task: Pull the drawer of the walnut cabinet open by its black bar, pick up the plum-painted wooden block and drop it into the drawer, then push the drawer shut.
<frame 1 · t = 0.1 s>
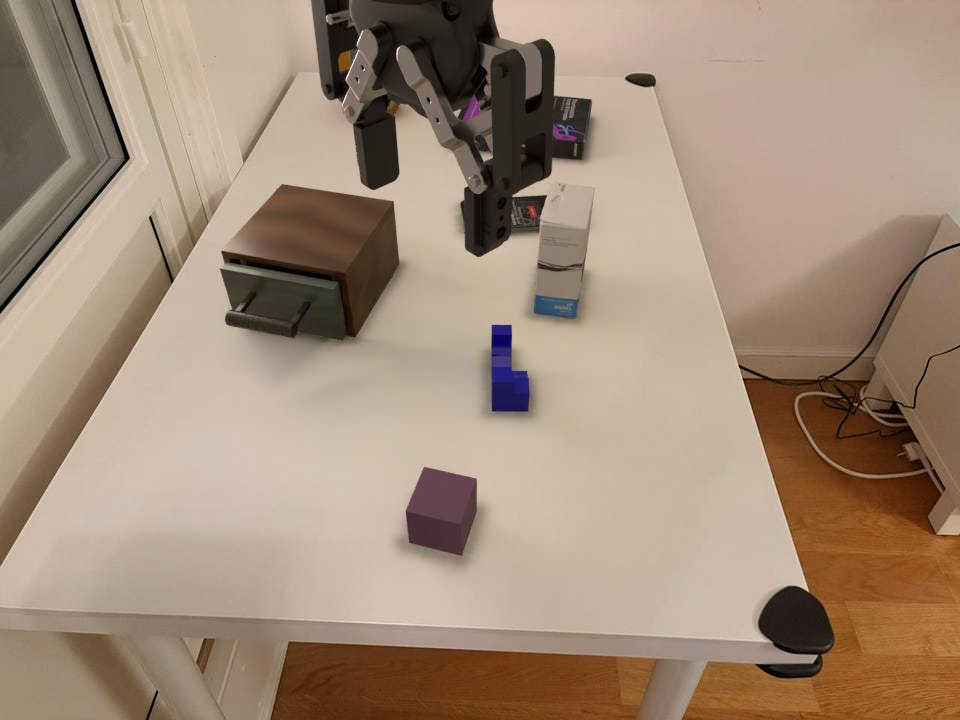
hand: (430, 214, 38), 30 cm above the table, tool pointing down, fingers open, 8 cm apart
ink box: (558, 295, 82), on the table
smartphone: (520, 217, 93), on the table
box: (523, 134, 110), on the table
apple: (376, 113, 115), on the table
cabinet: (323, 288, 83), on the table
cable holder: (508, 382, 72), on the table
block: (443, 526, 60), on the table
drawer: (298, 283, 76), point 4 cm above the table, slide at 0.5 cm
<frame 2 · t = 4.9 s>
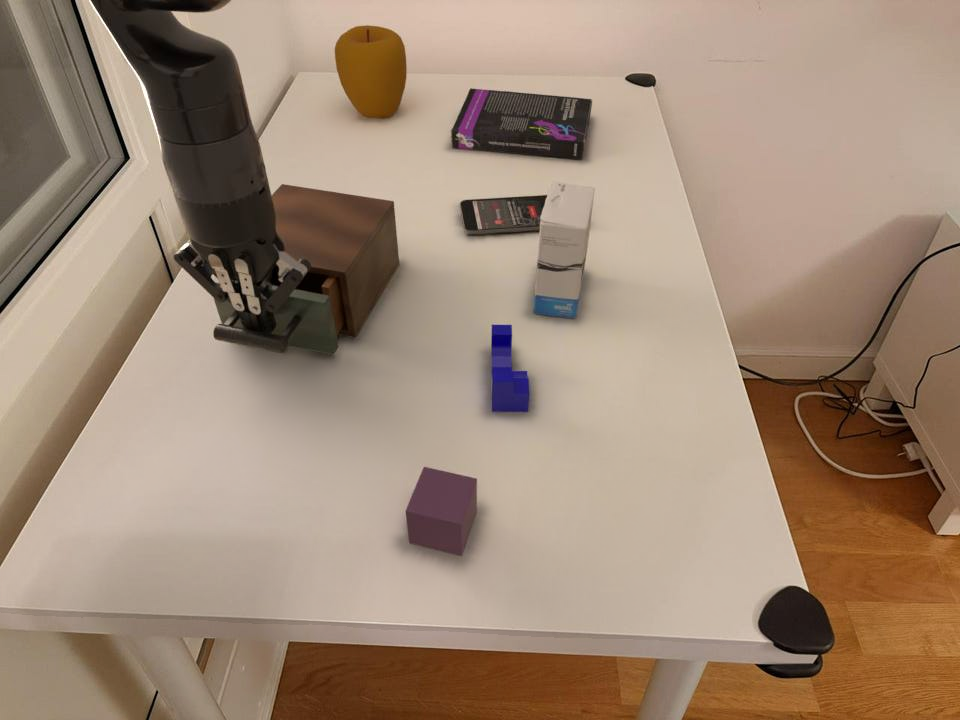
hand: (262, 334, 71), 4 cm above the table, tool pointing down, fingers closed
drawer: (289, 295, 75), point 4 cm above the table, slide at 2.7 cm, touching gripper
everything else where it was.
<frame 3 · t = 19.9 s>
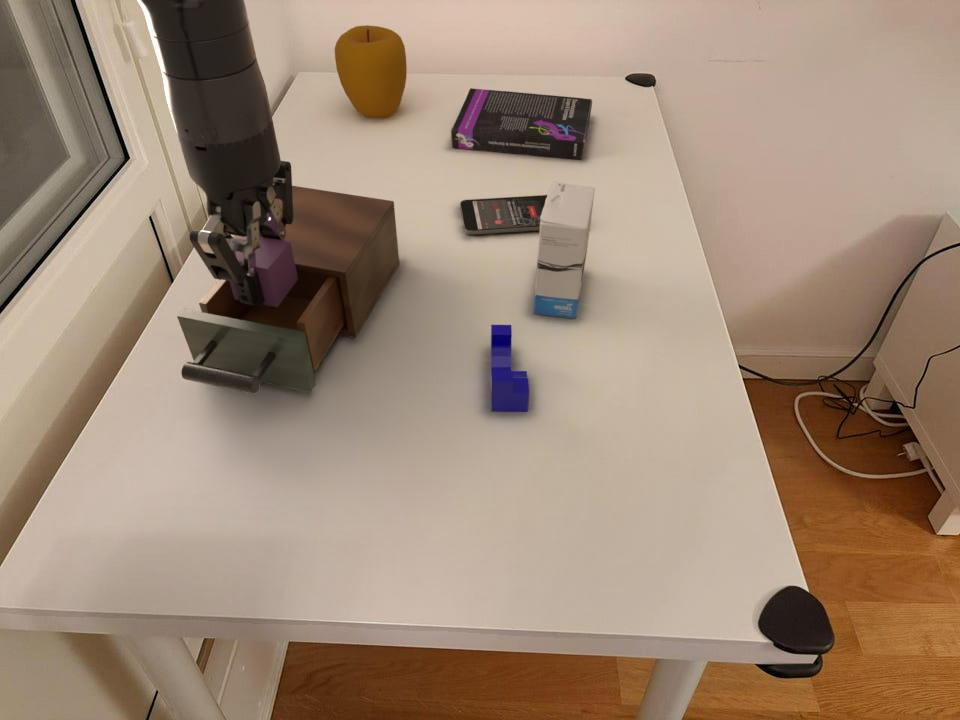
hand: (265, 286, 70), 8 cm above the table, tool pointing down, fingers closed on block, 4 cm apart
block: (267, 289, 70), point 8 cm above the table, touching gripper
drawer: (264, 329, 71), point 4 cm above the table, slide at 8.2 cm
everything else where it was.
when the fingers open (8 cm above the table, at t = 23.0 s): block drops 6 cm, resting on drawer.
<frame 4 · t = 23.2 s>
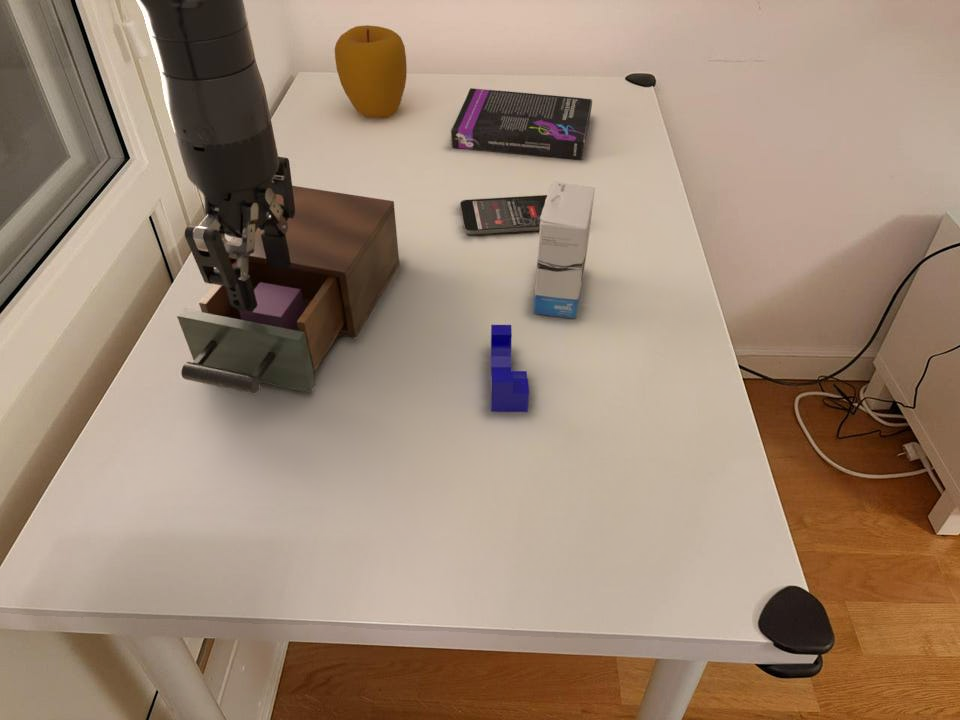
hand: (263, 286, 69), 8 cm above the table, tool pointing down, fingers open, 6 cm apart
block: (278, 333, 74), point 2 cm above the table, touching drawer
drawer: (264, 329, 71), point 4 cm above the table, slide at 8.2 cm, touching block
everything else where it was.
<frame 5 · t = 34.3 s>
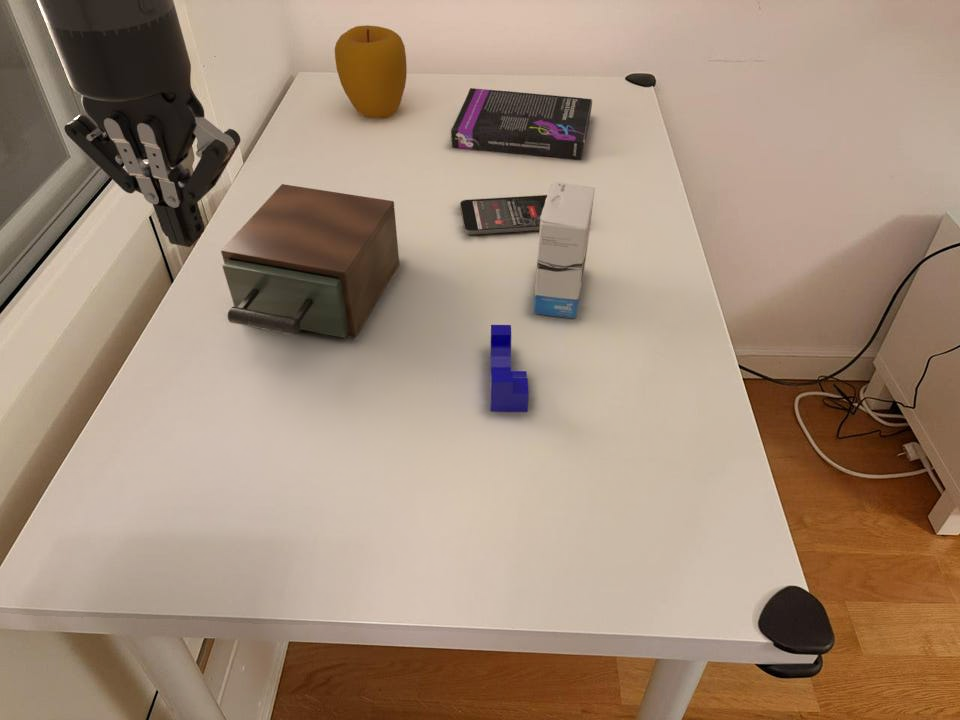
hand: (186, 239, 56), 19 cm above the table, tool pointing down, fingers closed
block: (312, 285, 80), point 2 cm above the table, touching drawer
drawer: (300, 280, 77), point 4 cm above the table, slide at 0.0 cm, touching block, cabinet
everything else where it was.
at the end: drawer pulled out 8.2 cm at the most during the clip, back to where it started at the end; block inside the target area in the cabinet (2.1 cm from its centre), point 2.0 cm above the cabinet's base; drawer slide at 0.0 cm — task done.
